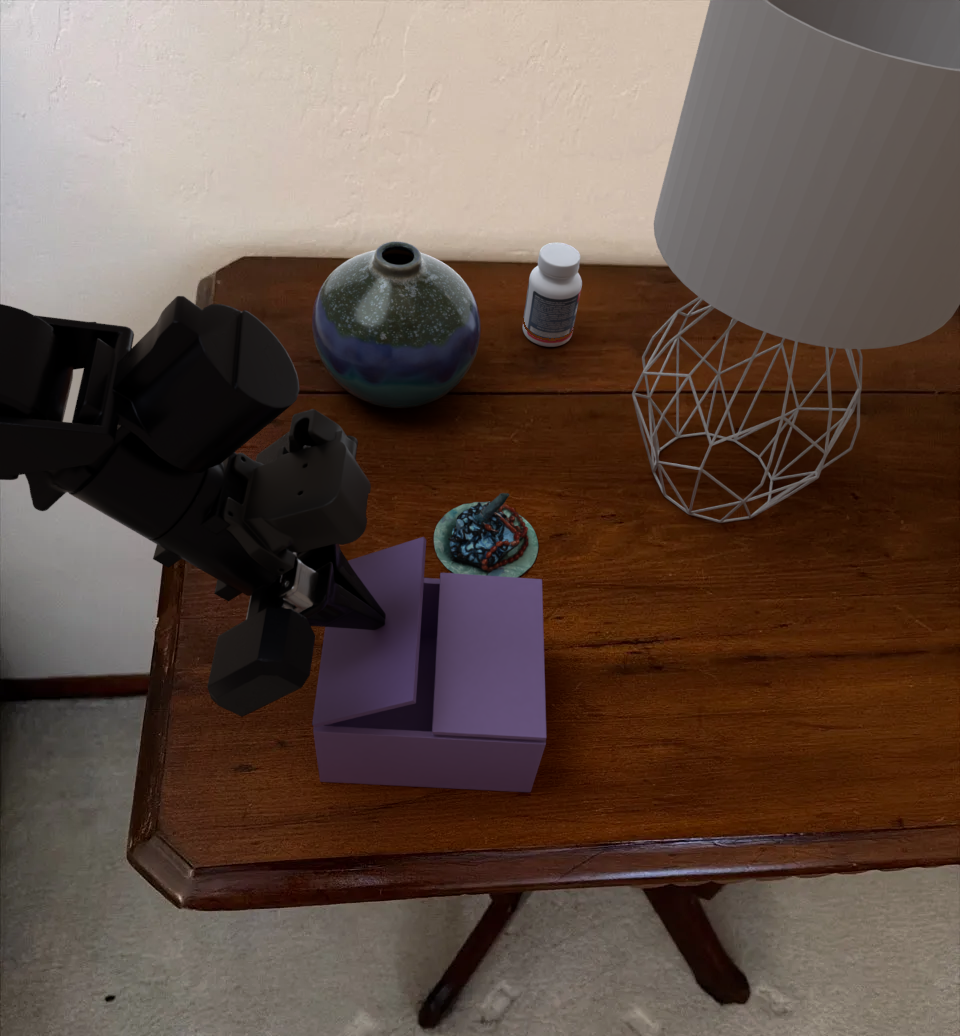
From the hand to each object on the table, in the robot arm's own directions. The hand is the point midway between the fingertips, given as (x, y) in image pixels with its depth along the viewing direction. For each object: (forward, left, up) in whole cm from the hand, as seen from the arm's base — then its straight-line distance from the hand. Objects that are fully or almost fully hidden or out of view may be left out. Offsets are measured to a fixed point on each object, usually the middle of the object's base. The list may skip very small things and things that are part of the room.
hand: (380, 622), depth 59 cm
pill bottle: (+14, +46, -11) cm, 49 cm away
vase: (-1, +37, -11) cm, 38 cm away
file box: (+4, 0, -11) cm, 11 cm away
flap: (-1, 0, -1) cm, 1 cm away
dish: (+8, +17, -11) cm, 21 cm away
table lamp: (+29, +27, -11) cm, 41 cm away
